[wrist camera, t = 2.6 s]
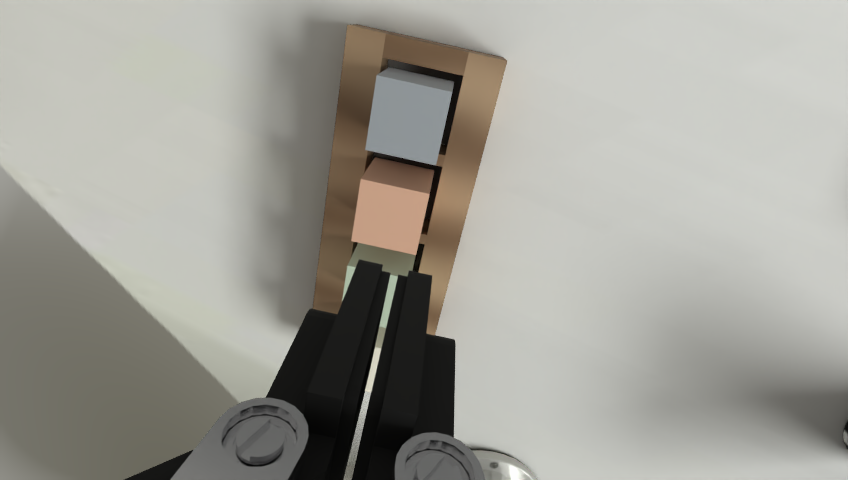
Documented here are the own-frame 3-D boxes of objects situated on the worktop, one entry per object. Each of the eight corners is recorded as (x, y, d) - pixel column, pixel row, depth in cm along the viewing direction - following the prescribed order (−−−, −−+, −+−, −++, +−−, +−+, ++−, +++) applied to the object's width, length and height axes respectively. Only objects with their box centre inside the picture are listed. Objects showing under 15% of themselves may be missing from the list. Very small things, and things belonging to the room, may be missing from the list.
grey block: (439, 145, 32) (436, 165, 28) (379, 131, 32) (365, 149, 27) (454, 81, 30) (452, 92, 26) (389, 66, 30) (376, 75, 26)
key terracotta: (422, 224, 35) (415, 255, 30) (365, 212, 35) (351, 241, 30) (434, 170, 33) (429, 194, 28) (375, 157, 33) (360, 178, 28)
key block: (425, 358, 43) (422, 381, 40) (316, 335, 43) (306, 356, 40) (503, 57, 32) (507, 61, 29) (357, 24, 32) (347, 24, 29)
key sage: (407, 293, 37) (399, 330, 33) (354, 281, 37) (339, 318, 33) (417, 246, 35) (410, 279, 31) (362, 234, 35) (347, 265, 31)
